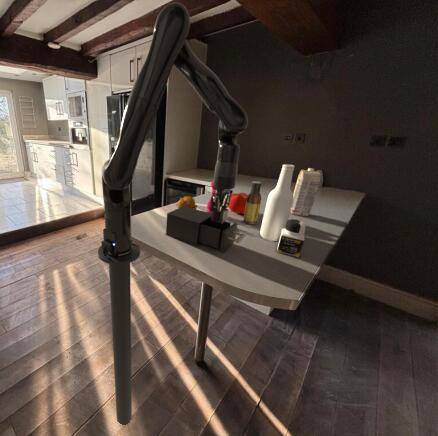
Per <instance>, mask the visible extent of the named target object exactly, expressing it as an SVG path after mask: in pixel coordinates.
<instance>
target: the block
mask: <svg viewBox="0 0 438 436" xmlns="http://www.w3.org/2000/svg"><path fill="white" fill-rule="evenodd" d="M213 215H214V211H212V215H211V221H213ZM228 215H229V208H226V209H225V208H221V213H220V219H219V221H218V222H219V223H223V222H225V221H227V220H228ZM215 222H216V221H215Z"/></svg>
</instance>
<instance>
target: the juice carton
mask: <svg viewBox="0 0 438 436" xmlns="http://www.w3.org/2000/svg"><path fill="white" fill-rule="evenodd" d="M321 179H322V173H321V172H320V171H319V170H315V168H311V167H308V168H307V169H301V170H300V171H299V174H298V176H297V179H296V183H295V187H294V190H293V192H292V194H293V203H292V207H291V211H290V214H291V215H296V216H301V217H309V214H310V213H311V212H312V208H313V206H314V203H315V199H316V195H317V193H318V189H319V186H320V183H321Z"/></svg>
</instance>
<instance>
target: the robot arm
mask: <svg viewBox="0 0 438 436" xmlns="http://www.w3.org/2000/svg"><path fill="white" fill-rule="evenodd" d="M190 30H191V17H190V14H189V11H188V9H187V7H186V6H185V5H184V4H183V3H181V2H176V1H175V2H171V3H168V4H167V5H165V6H164V7H162V9H161V10H160V12H159V13H158V15H157V17H156V20H155V22H154V26H153V30H152V31H153V32H152V39H151V43H150V46H149V50H148V53H147V56H146V59H145V60H144V62H143V65H142V67H141V68H140V71H139V73H138V75H137V77H136V79H135V82H134V84H133V86H132V88H131V91H130V93H129V96H128V99H127V100H126V101H127V102H126V104H125V107H124V111H123V114H122V119H121V123H120V131H119V136H118V141H117V143H116V147H115V148H114V149H115V150H114V152H113V153H112V157H111V158H109V159H107V160H106V161H105V162H104V163H103V165H102V168H101V186H102V188H101V189H102V199H103V211H104V228H103V230H102V235H103V240H102V241H101V246H102V249H103V254H104V256H106V253H107V254H109V255H110V256H112V257H114V258H117V257H123V256H126V255H128V254H130V253H131V251H132V243H133V239H132V198H131V191H130V185H131V184H132V182H133V179H134V175H135V172H136V168H137V165H138V161H139V158H140V155H141V152H142V149H143V147H144V145H145V143H146V141H147V138H148V136H149V133H150V131H151V129H152V126H153V124H154V122H155V119H156V117H157V114H158V112H159V109H160V106H161V103H162V100H163V97H164V95H165V91H166V88H167V85H168V81H169V77H170V74H171V72H172V70H173V66H174V67H175V68H176V70H178V71H179V73H180V74H181V75H182V76H183V77H184V78H185V79H186V81H187V82H188V83H189V84H190V86H191V87H192V88H193V90H194V91H195V93H196V94H197V95H198V97H199V99H201V101H202V102H203V103H204V105H205V107H206V108H207V109H208V111H210V113H212V114H215V115H216V117H217V118H218V119H219V122H218V127H217V132H218V133H217V136H218V138H217V139H218V140H217V141H218V149H217V157H216V163H215V167H214V172H213V173H214V174H213V180H212V181H213V186H214V187H216V188H217V190H216V193H215V196H212V197H211V196H210V198H211V211H214V215H213V221H216V222H218V221H219V219H220V213H221V208H225V209H228V207H227V205H228V206H229V204H230V200H231V196H232V193H234V191H233V189H235V187H236V183H237V177H238V170H239V162H240V161H239V160H240V154H241V144H240V143H239V141H238V139H239V135H241V134H242V133H244V132H245V131H246V130H247V128H248V126H249V116H248V114H247V112H246V111H245V108H243V107H242V106H241V105H240V104H239V103H238V102H237V101H236V100H235V99H234V98H233V97H232V96H231V94H229V93H230V92H229V91H228V90H227V88H226V87H225V85H224V84H223V83H222V81H221V79H220V77H218V75H217V74H216V73H215V72H214V71H213V70H212V69H211V68H209V67H208V66H207V65H206V64H205V63H204V62H202V61H201V60H200V59H199V58H198V57H197V55H195V53H194V51H193V50H192V49H191V47H190V45H189V43H188V41H187V38H188V37H189V34H190ZM219 202H220V204H219Z"/></svg>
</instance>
